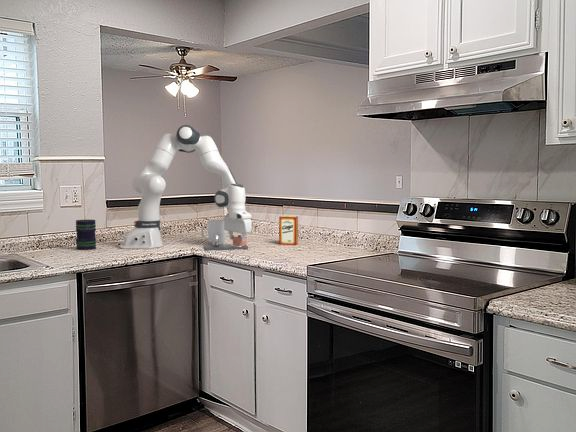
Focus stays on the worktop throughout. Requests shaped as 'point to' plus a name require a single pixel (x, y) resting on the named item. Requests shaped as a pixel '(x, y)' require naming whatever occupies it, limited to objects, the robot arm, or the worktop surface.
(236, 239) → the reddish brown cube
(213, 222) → the mug
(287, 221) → the baking soda box
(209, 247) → the base
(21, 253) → the worktop surface
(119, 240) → the worktop surface
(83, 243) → the storage jar
